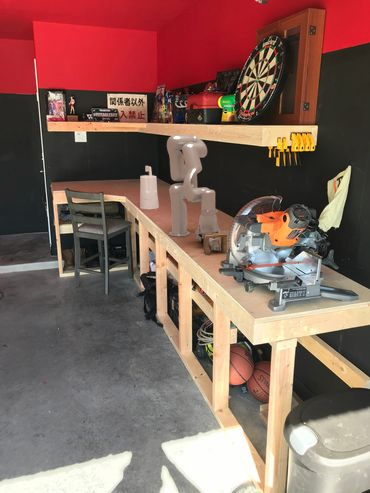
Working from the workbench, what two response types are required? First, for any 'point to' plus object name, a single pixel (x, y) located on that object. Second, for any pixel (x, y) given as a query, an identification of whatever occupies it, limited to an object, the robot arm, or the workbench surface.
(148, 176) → the white pump bottle
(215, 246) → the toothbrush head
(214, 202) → the robot arm
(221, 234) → the walnut sleeve
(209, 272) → the workbench surface
